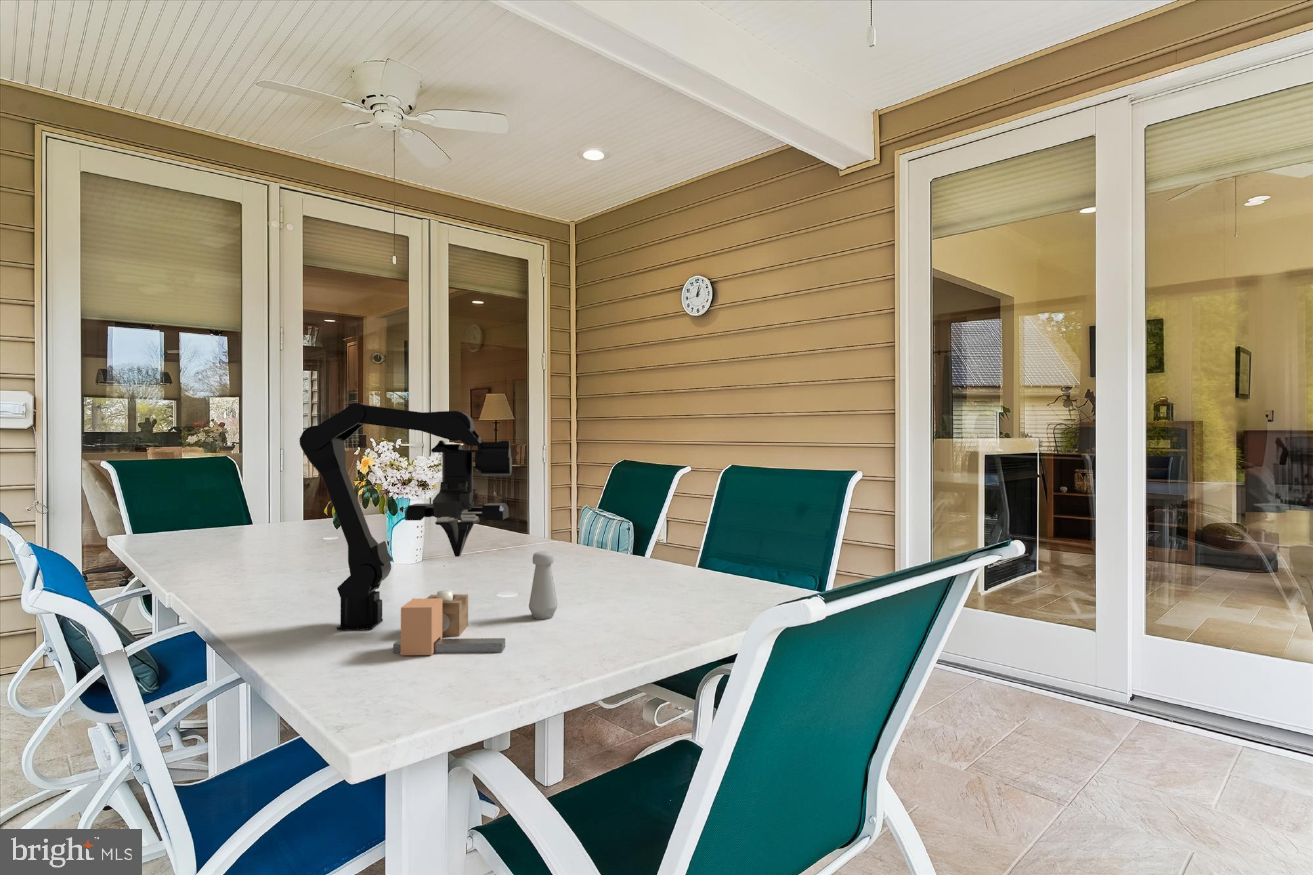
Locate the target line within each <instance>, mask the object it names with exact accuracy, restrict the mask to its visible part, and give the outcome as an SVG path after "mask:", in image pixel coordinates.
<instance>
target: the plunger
mask: <svg viewBox="0 0 1313 875" xmlns="http://www.w3.org/2000/svg"><path fill="white" fill-rule="evenodd" d="M453 594H454V591H453V590H450V589H447V590H446V589H444V590H443V589H442V590H438V591H437V593H436V595H437V598H442V601H452V600H453Z"/></svg>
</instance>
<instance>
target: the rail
mask: <svg viewBox="0 0 1313 875" xmlns="http://www.w3.org/2000/svg"><path fill="white" fill-rule="evenodd" d="M505 648H506V637H496V638H495V637H493V638H492V637H491V638H490V637H488V638H486V637H485V638H483V637H482V638H480V637H479V638H478V637H477V638H476V637H475V638H473V637H472V638H467V637H466V638H442V639H437V640H436V641H435V642H434V653H433V654H435V653H436V654H441V653H442V654H445V653H446V654H447V653H448V654H450V653H451V654H454V653H455V654H456V653H457V654H459V653H461V654H462V653H503V651H504V650H505ZM392 653H393V654H401V638H399V639H397V640H396V641H395V642H394V643H393V645H392Z"/></svg>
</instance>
